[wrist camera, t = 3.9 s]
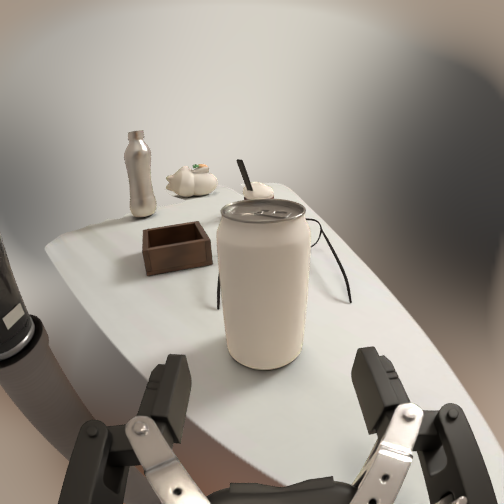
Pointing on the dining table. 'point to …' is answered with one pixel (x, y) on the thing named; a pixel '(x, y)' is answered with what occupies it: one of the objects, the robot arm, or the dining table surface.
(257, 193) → the cocoa
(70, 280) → the dining table surface
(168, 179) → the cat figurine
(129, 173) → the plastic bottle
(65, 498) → the robot arm
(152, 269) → the tray
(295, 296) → the can
